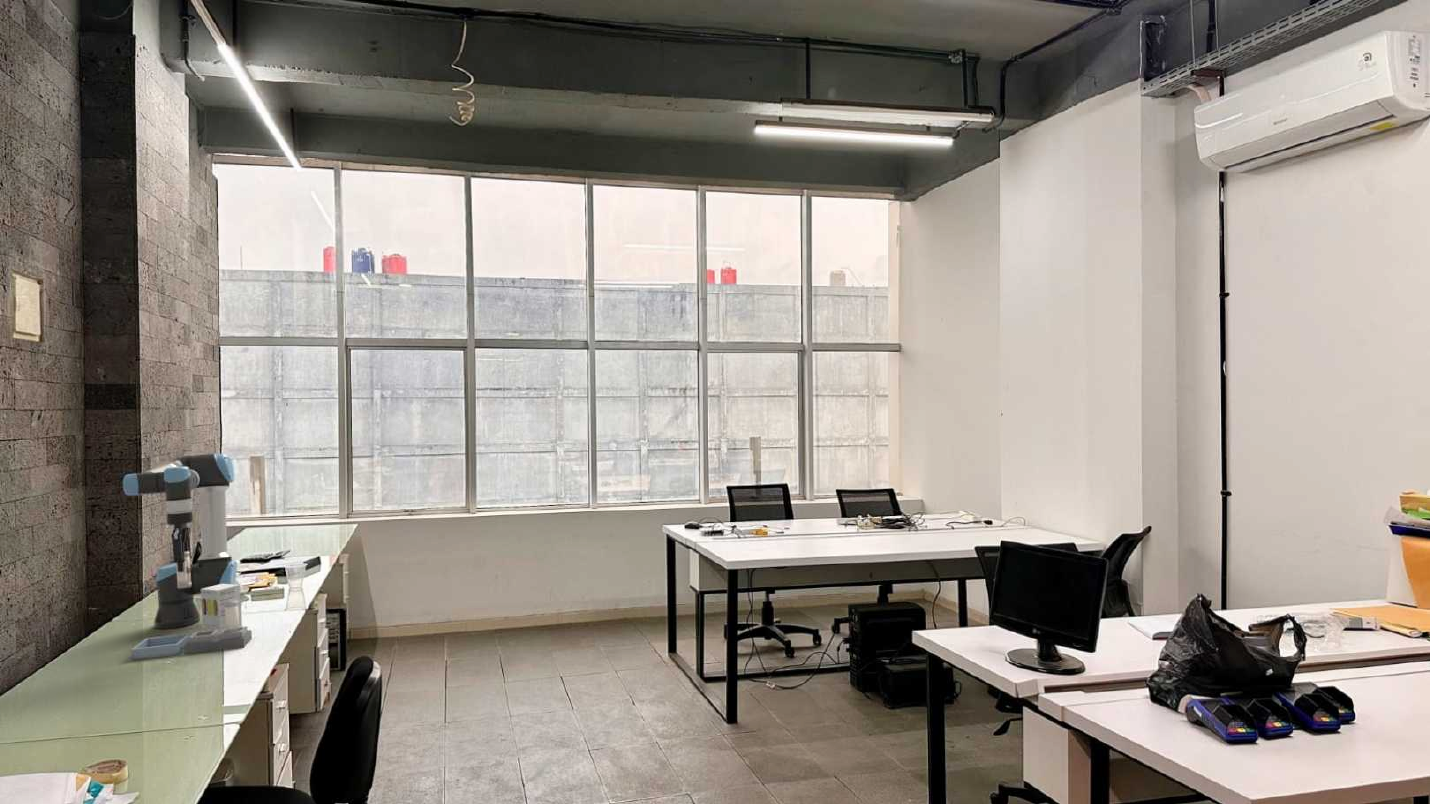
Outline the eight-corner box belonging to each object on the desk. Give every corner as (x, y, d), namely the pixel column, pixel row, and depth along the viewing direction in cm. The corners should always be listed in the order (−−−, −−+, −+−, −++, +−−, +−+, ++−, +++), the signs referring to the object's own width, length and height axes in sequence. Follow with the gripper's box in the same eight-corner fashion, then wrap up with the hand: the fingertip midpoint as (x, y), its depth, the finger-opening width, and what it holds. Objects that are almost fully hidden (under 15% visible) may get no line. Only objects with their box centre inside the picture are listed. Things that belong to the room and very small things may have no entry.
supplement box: (202, 634, 319) (199, 588, 318) (224, 627, 327) (222, 583, 327) (220, 636, 315) (217, 590, 315) (243, 629, 324) (240, 584, 323)
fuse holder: (194, 645, 305) (192, 602, 304) (251, 638, 310) (249, 596, 309) (185, 654, 294) (182, 610, 294) (244, 647, 299) (241, 603, 299)
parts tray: (146, 648, 304) (145, 638, 304) (191, 643, 308) (190, 633, 308) (131, 660, 290) (130, 649, 290) (178, 654, 294) (178, 644, 294)
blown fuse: (179, 586, 301) (177, 551, 301) (193, 584, 303) (190, 550, 302) (176, 588, 297) (173, 554, 297) (190, 587, 299) (187, 552, 298)
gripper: (174, 509, 306) (178, 575, 307) (159, 516, 290) (164, 586, 291) (198, 507, 308) (202, 573, 309) (185, 514, 292) (189, 583, 293)
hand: (184, 579), depth 300 cm, fingers closed on blown fuse, 4 cm apart
